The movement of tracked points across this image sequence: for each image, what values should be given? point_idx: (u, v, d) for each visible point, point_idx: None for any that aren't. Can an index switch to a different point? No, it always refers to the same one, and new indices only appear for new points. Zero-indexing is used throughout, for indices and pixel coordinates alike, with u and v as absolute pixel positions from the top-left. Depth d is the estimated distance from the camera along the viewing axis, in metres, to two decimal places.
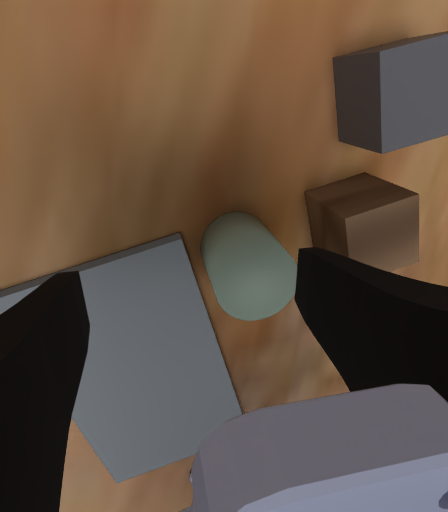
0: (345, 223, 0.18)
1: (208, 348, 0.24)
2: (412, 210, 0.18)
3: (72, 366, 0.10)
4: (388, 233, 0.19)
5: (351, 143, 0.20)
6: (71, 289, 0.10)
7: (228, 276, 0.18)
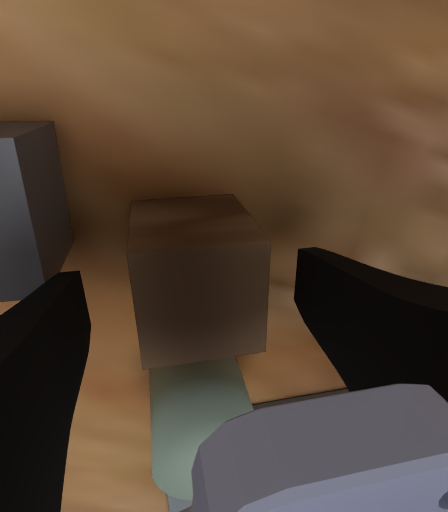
0: (150, 368, 0.11)
1: None
2: (157, 263, 0.10)
3: (74, 366, 0.10)
4: (191, 301, 0.11)
5: None
6: (72, 289, 0.10)
7: (186, 490, 0.14)
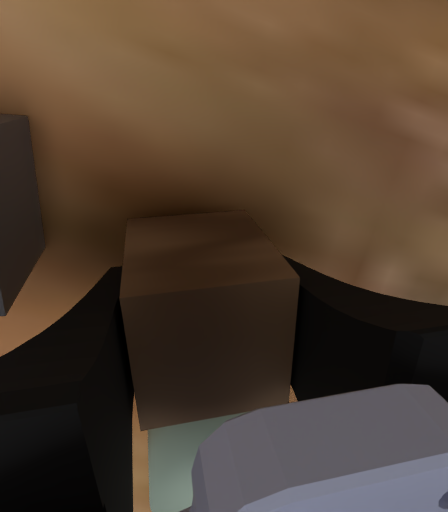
0: (150, 428, 0.09)
1: None
2: (158, 308, 0.08)
3: None
4: (201, 352, 0.09)
5: None
6: None
7: None
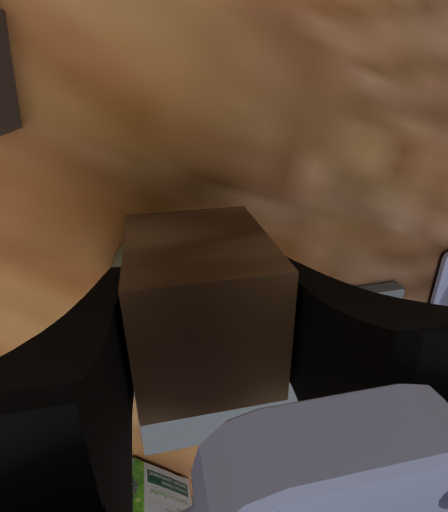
0: (149, 424, 0.09)
1: None
2: (157, 302, 0.08)
3: None
4: (199, 347, 0.09)
5: None
6: None
7: None
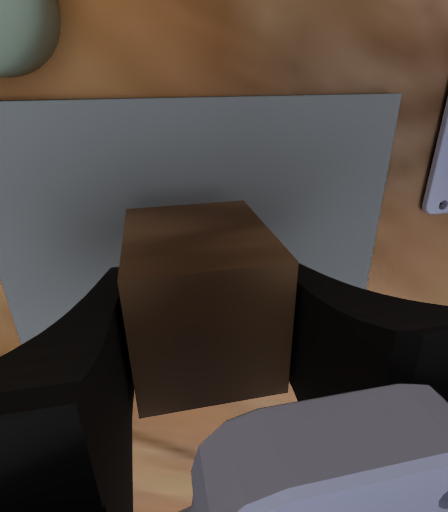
0: (149, 416, 0.09)
1: (180, 117, 0.14)
2: (157, 292, 0.08)
3: None
4: (199, 337, 0.09)
5: None
6: None
7: None
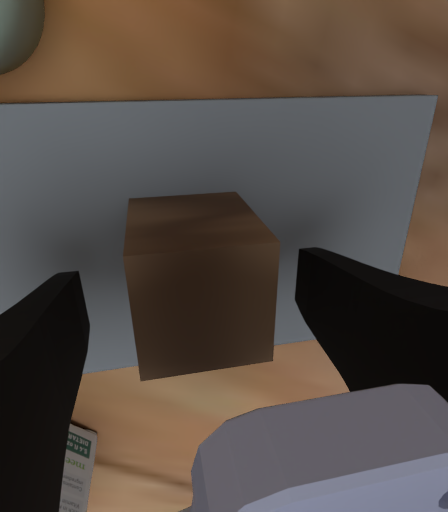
0: (149, 379, 0.11)
1: (185, 122, 0.12)
2: (156, 266, 0.09)
3: (73, 366, 0.10)
4: (194, 308, 0.10)
5: None
6: (71, 289, 0.10)
7: None
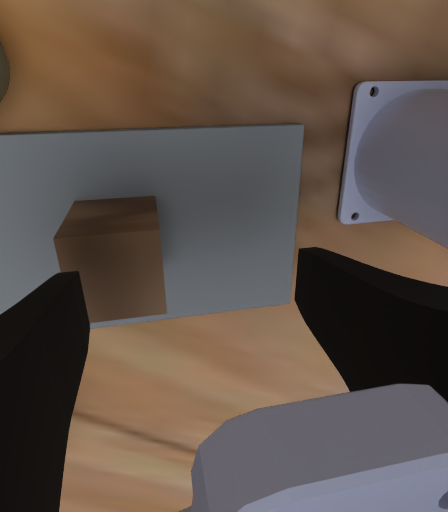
0: None
1: (112, 146, 0.17)
2: (76, 245, 0.14)
3: (73, 366, 0.10)
4: (105, 274, 0.15)
5: None
6: (71, 289, 0.10)
7: None
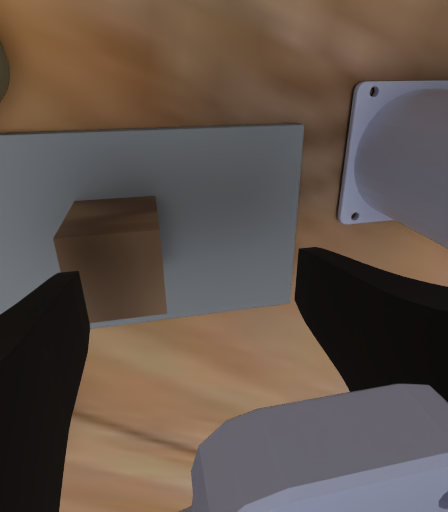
0: None
1: (112, 146, 0.17)
2: (76, 245, 0.14)
3: (73, 366, 0.10)
4: (105, 274, 0.15)
5: None
6: (71, 289, 0.10)
7: None
